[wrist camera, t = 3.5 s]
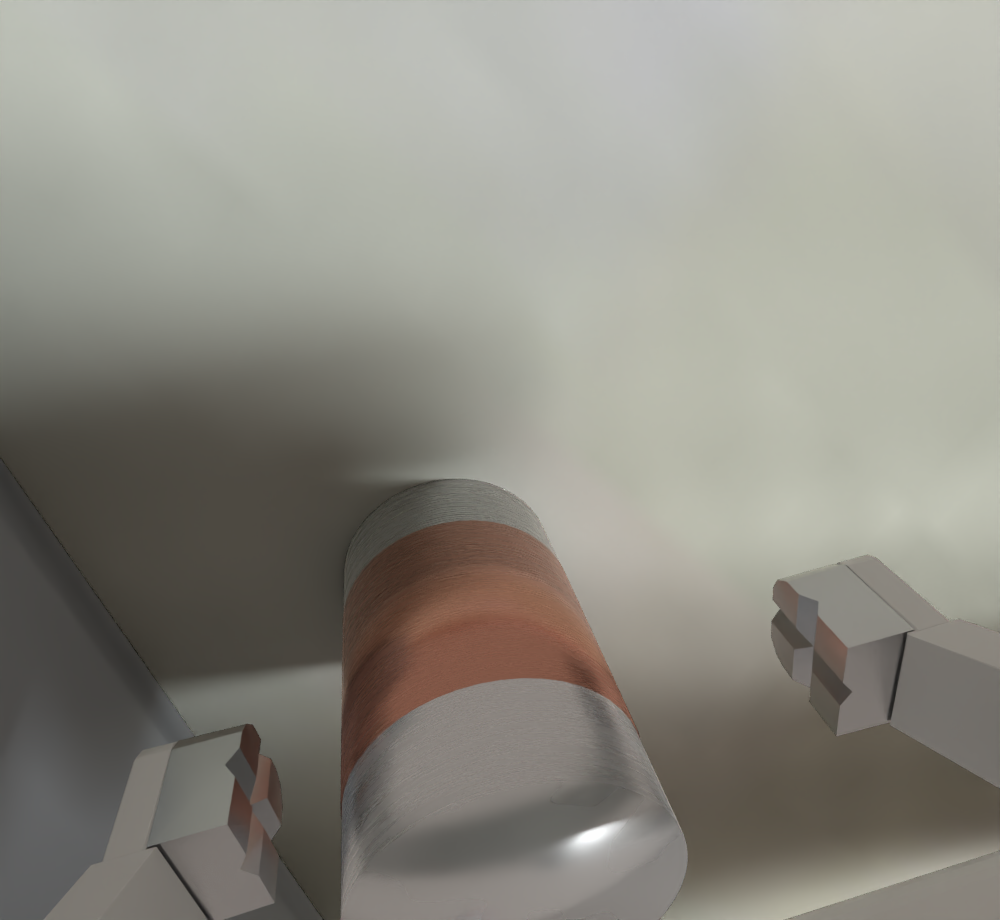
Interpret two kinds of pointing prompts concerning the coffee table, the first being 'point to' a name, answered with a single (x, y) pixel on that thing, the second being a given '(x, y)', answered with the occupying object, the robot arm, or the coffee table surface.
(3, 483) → the tote
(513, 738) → the jar with white lid
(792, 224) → the coffee table surface
